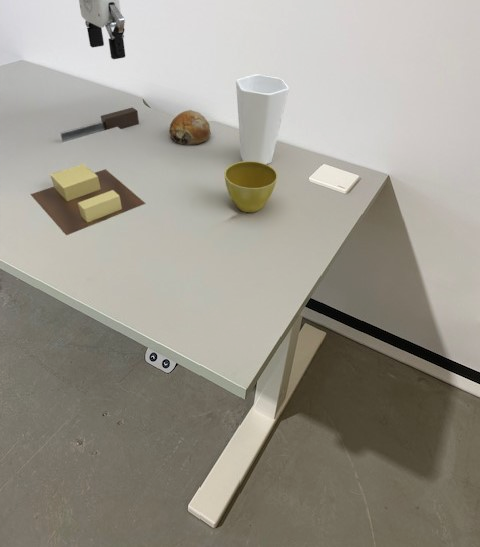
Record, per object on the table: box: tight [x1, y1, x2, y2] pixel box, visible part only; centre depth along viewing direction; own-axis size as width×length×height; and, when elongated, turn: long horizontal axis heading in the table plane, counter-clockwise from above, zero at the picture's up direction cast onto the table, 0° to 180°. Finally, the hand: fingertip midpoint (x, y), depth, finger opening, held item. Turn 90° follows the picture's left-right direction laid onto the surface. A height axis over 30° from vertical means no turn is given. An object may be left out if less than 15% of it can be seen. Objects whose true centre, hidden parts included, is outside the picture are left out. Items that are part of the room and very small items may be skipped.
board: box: [30, 168, 146, 236], centre depth 81 cm, size 16×16×2 cm
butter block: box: [49, 163, 100, 201], centre depth 82 cm, size 7×6×3 cm
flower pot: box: [223, 160, 278, 213], centre depth 82 cm, size 10×10×7 cm
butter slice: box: [78, 190, 122, 223], centre depth 77 cm, size 7×2×3 cm, turn 131°
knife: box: [59, 106, 140, 143], centre depth 103 cm, size 20×2×4 cm, turn 131°
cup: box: [235, 73, 290, 165], centre depth 92 cm, size 11×10×17 cm
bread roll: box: [168, 109, 211, 146], centre depth 103 cm, size 10×10×8 cm
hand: (107, 52), depth 95 cm, fingers open, 9 cm apart
